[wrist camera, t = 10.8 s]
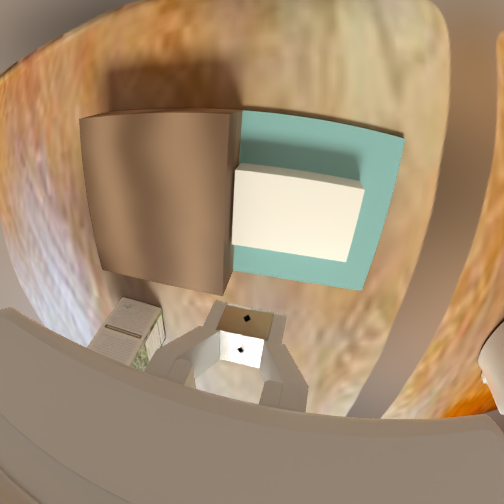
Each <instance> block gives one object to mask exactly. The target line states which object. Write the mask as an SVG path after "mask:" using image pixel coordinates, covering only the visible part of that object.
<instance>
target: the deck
mask: <svg viewBox="0 0 504 504" xmlns="http://www.w3.org/2000/svg"><path fill="white" fill-rule="evenodd" d="M242 112H243V110H234V109H213V108H156V109H136V110H122V111H111V112H106V113H101V114H97V115H93V116H89V117H85V118H82V119H79V123H80V139H81V151H82V161H83V170H84V178H85V185H86V192H87V198H88V205H89V210H90V216H91V221H92V226H93V231H94V236H95V241H96V245H97V249H98V254H99V258H100V262H101V266H102V270H106V271H110V272H114V273H118V274H122V275H126V276H131V277H135V278H139V279H144V280H148V281H152V282H157V283H161V284H166V285H171V286H175V287H180V288H185V289H190V290H195V291H200V292H205V293H210V294H215V295H220V296H223V294H224V292H225V289H226V287H227V284H228V282H229V279H230V277H231V274H232V272H233V262H234V245H233V244H232V225H233V203H234V183H235V169H236V168H237V167H238V166H239V155H240V140H241V126H242Z"/></svg>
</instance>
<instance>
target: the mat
mask: <svg viewBox="0 0 504 504" xmlns="http://www.w3.org/2000/svg"><path fill="white" fill-rule="evenodd" d="M404 142H405V139H404V138H401V137H398V136H394V135H390V134H386V133H382V132H378V131H374V130H370V129H366V128H361V127H357V126H352V125H347V124H342V123H337V122H332V121H327V120H321V119H315V118H308V117H302V116H295V115H287V114H279V113H270V112H260V111H248V110H243V112H242V126H241V140H240V155H239V165H240V164H241V163H247V164H256V165H264V166H272V167H280V168H287V169H294V170H301V171H307V172H314V173H320V174H325V175H331V176H337V177H342V178H348V179H353V180H358V181H360V182H361V184H362V185H363V187H364V189H365V191H364V195H363V200H362V204H361V208H360V212H359V216H358V220H357V224H356V228H355V232H354V236H353V239H352V243H351V246H350V250H349V254H348V257H347V261H346V262H341V261H335V260H328V259H322V258H316V257H310V256H303V255H297V254H291V253H284V252H278V251H271V250H265V249H259V248H252V247H246V246H239V245H234V262H233V270H235V271H241V272H247V273H253V274H259V275H265V276H271V277H277V278H283V279H289V280H296V281H302V282H308V283H315V284H321V285H327V286H334V287H341V288H347V289H354V290H362V288H363V285H364V282H365V280H366V277H367V274H368V271H369V268H370V266H371V263H372V260H373V257H374V254H375V251H376V248H377V245H378V242H379V239H380V235H381V232H382V229H383V226H384V222H385V219H386V215H387V212H388V208H389V205H390V201H391V198H392V194H393V190H394V186H395V182H396V178H397V174H398V170H399V165H400V161H401V156H402V152H403V147H404Z"/></svg>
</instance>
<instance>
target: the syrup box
mask: <svg viewBox="0 0 504 504" xmlns="http://www.w3.org/2000/svg"><path fill="white" fill-rule="evenodd" d="M165 339H166V336H165V330H164V323H163V316H162V309H161V308H159V307H156V306H153V305H150V304H147V303H143V302H139V301H136V300H132V299H129V298H125V297H122V298H121V299H120V301H119V302H118V304H117V305H116V306H115V308H114V309H113V311H112V312H111V313H110V315H109V316H108V318H107V319H106V320H105V322H104V323H103V325H102V326H101V328H100V329H99V331H98V332H97V334H96V335H95V336H94V338H93V339H92V341H91V342H90V344H89V345H88V347H87V348H88V349H90V350H92V351H94V352H96V353H99V354H101V355H103V356H106V357H108V358H110V359H113V360H115V361H117V362H120V363H122V364H125V365H127V366H130V367H132V368H135V369H138V370H140V371H143V372H144V370H145V369H146V367H147V365H148V363H149V362H150V360H151V358H152V356H153V355H154V353H155V351H156V350H157V349H159V348H161V347H162V345H163V343H164V341H165Z"/></svg>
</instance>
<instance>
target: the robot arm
mask: <svg viewBox="0 0 504 504" xmlns="http://www.w3.org/2000/svg"><path fill="white" fill-rule="evenodd" d="M285 322H286V314H281V313H274V312H269V311H264V310H259V309H253V308H248V307H244V306H239V305H235V304H231V303H226V302H222V301H218V300H216V301H215V302H214V304H213V307H212V309H211V311H210V313H209V315H208V317H207V319H206V321H205V323H204V325H203V327H202V326H199V327H197V328H195V329H193V330H192V331H190V332H188V333H186V334H184V335H183V336H181V337H179V338H177V339H175V340H173V341H172V342H170V343H168V344H166V345H164V346H162V347H161V348H159V349H157V350H156V351H155V353H154V355H153V356H152V358H151V360H150V362H149V363H148V365H147V367H146V369H145V370H144V372H143V371H140V370H138V369H135V368H132V367H130V366H127V365H125V364H122V363H120V362H117V361H115V360H113V359H110V358H108V357H106V356H103V355H101V354H99V353H96V352H94V351H92V350H90V349H88V348H86V347H83V346H81V345H79V344H77V343H75V342H73V341H71V340H69V339H67V338H65V337H63V336H61V335H59V334H57V333H56V332H54V331H52V330H50V329H48V328H46V327H44V326H43V325H41V324H39V323H37V322H36V321H34V320H32V319H30V318H29V317H27V316H25V315H24V314H22V313H21V312H19V311H17V310H16V309H14V308H10V307H9V308H5V309H1V310H0V504H504V433H503V432H502V431H501V429H500V428H499V427H498V426H497V424H496V423H495V422H494V421H493V420H492V419H491V418H490V417H489V416H488V415H485V414H480V415H471V416H462V417H451V418H436V419H368V418H352V417H340V416H330V415H321V414H313V413H306V412H305V411H306V403H307V395H308V385H307V383H306V381H305V379H304V378H303V376H302V374H301V372H300V371H299V369H298V367H297V365H296V364H295V362H294V360H293V358H292V356H291V355H290V353H289V351H288V349H287V347H286V346H285V345H284V344H281V343H282V338H283V333H284V327H285ZM220 359H223V360H228V361H233V362H238V363H242V364H246V365H250V366H254V367H258V368H259V370H260V373H261V376H262V378H263V381H264V387H263V391H262V394H261V398H260V402H259V404H254V403H249V402H245V401H240V400H236V399H232V398H228V397H224V396H220V395H216V394H212V393H208V392H205V391H201V390H198V389H196V385H195V378H197V377H198V376H199V375H201V374H202V373H203V372H205V371H206V370H207V369H208V368H210V367H211V366H212V365H214V364H215V363H216V362H217V361H219V360H220ZM478 363H479V366H480V368H481V370H482V375H481V379H482V381H483V383H487V384H488V386H489V388H490V390H491V393H492V395H493V398H494V400H495V402H496V405H497V407H498V410H499V412H500V413H501V414H502V415H504V322H503V323H502V324H501V325H500V326H499V327H498V328H497V329H496V330H495V331H494V332H493V334H492V335H491V336H490V337H489V339H488V340H487V342H486V343H485V345H484V346H483V348H482V350H481V352H480V355H479V360H478Z"/></svg>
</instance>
